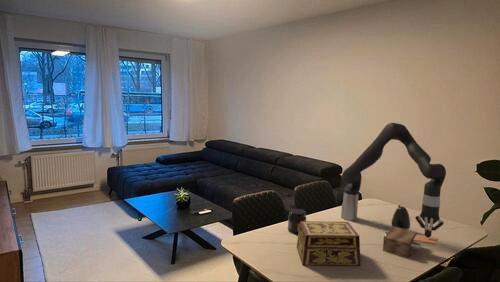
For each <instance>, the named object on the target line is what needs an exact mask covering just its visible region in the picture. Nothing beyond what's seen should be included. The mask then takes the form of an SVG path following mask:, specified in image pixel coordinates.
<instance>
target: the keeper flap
mask: <svg viewBox="0 0 500 282" xmlns="http://www.w3.org/2000/svg"><path fill="white" fill-rule="evenodd" d="M439 239H440V238H439V237H437V236H436V237H435V236H431V237H429V238H428V237H426V236H425V234H424V235H422V234H417V233H416V236H415V238H414V239H413V242H418V243H421V244H427V245H432V246H433V245H434V246H437V244H438V241H439Z"/></svg>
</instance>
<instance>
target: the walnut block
mask: <svg viewBox="0 0 500 282" xmlns="http://www.w3.org/2000/svg"><path fill="white" fill-rule="evenodd" d="M387 232H388V233H387V234H386V235H385V234H384V235H385V236H384V235H383V242H382V243H383V244H382V251H383V252H385V253H386V252H387V253H389V254H392V255H397V256H401V257H403V258H407V259H408V258H409V257H410V255H411V253H412V252H413V251H414V249H413V248H411V245H412V241H413V239H414V238H415V236H416V234H417V231H414V230H410V229H409V230H406V229H402V228H398V227H394V226H393V227H392V226H391V228H390V229H389V230H388V231H387Z"/></svg>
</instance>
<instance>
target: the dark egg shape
mask: <svg viewBox="0 0 500 282" xmlns="http://www.w3.org/2000/svg"><path fill="white" fill-rule="evenodd" d="M390 223H391V228H392V227H393V226H394V227H398V228H402V229H406V230H410V228H411V219H410V213H409V211H408V209H407V208H406V207H405V206H401V205H398V206H397V208H396V210H395V211H394V213H393V216H392V219H391V222H390Z"/></svg>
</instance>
